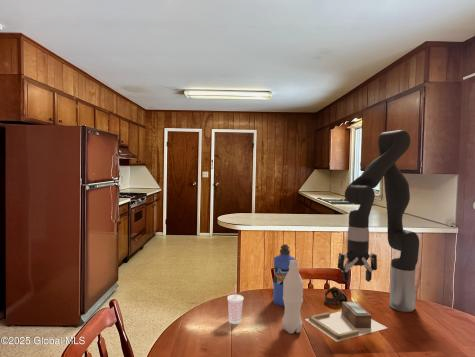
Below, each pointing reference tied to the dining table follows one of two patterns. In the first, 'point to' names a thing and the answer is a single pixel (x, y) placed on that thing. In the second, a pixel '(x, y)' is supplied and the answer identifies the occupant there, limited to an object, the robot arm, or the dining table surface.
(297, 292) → the water bottle
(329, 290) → the pottery mug
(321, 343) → the dining table surface
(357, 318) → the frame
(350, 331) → the wall board
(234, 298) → the beverage cup
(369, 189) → the robot arm
